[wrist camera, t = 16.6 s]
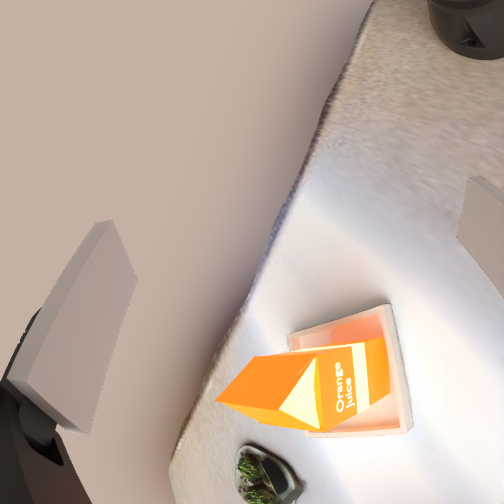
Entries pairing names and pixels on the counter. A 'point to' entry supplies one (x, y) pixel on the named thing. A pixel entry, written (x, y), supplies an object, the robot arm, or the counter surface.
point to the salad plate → (264, 477)
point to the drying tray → (398, 401)
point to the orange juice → (312, 385)
